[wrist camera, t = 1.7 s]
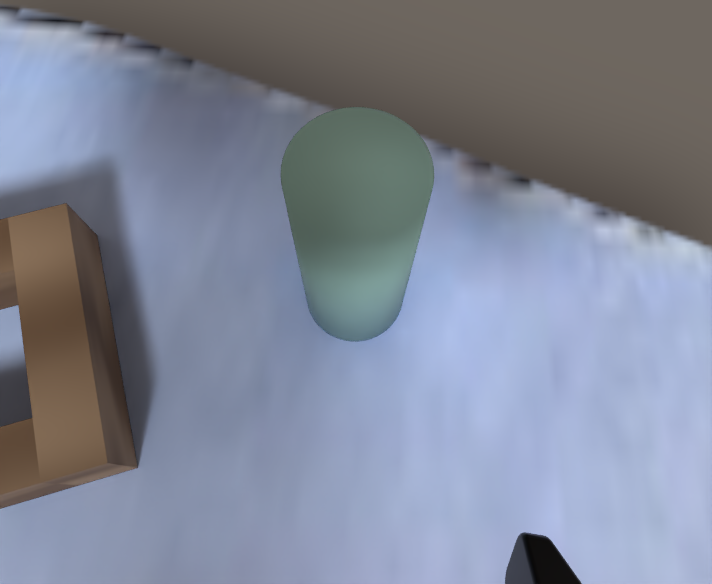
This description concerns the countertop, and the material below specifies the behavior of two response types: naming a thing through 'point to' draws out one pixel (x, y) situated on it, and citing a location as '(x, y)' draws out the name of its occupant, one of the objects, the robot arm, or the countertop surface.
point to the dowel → (356, 215)
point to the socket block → (61, 359)
